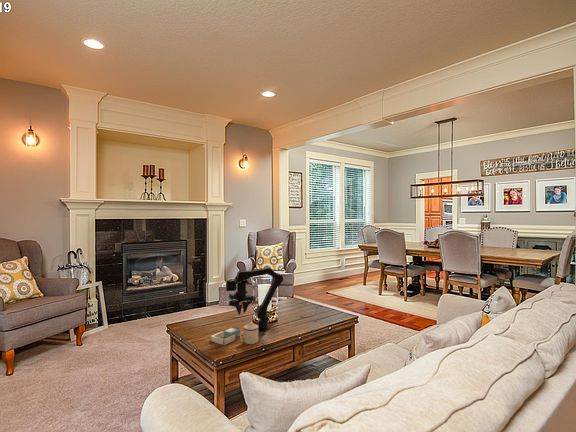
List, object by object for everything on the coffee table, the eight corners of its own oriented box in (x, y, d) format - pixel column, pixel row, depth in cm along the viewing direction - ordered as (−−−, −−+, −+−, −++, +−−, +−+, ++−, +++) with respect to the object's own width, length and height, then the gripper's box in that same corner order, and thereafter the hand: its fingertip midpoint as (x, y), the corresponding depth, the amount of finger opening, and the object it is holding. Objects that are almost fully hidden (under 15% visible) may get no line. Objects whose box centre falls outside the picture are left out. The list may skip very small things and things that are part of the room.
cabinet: (232, 333, 214) (232, 325, 214) (240, 335, 210) (239, 327, 210) (224, 337, 207) (224, 329, 207) (231, 339, 204) (231, 331, 204)
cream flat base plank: (222, 336, 209) (222, 331, 209) (235, 339, 203) (235, 335, 203) (210, 341, 201) (210, 336, 201) (224, 345, 195) (224, 340, 195)
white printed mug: (254, 337, 206) (254, 319, 206) (261, 342, 199) (261, 323, 199) (236, 341, 200) (236, 322, 200) (243, 346, 192) (243, 327, 192)
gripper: (241, 285, 228) (242, 308, 228) (222, 291, 213) (222, 315, 213) (254, 287, 222) (254, 310, 222) (235, 293, 206) (235, 318, 207)
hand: (241, 313), depth 216 cm, fingers open, 5 cm apart
